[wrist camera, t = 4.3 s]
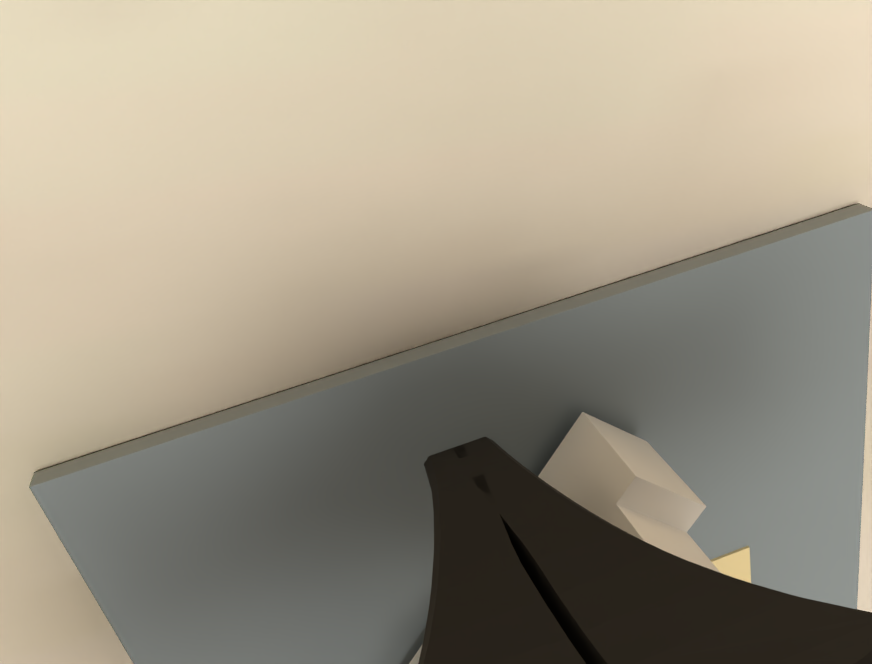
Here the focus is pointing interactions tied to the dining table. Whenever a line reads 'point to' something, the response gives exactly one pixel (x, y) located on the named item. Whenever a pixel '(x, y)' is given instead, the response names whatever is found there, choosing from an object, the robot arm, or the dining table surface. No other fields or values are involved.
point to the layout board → (515, 433)
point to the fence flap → (625, 487)
